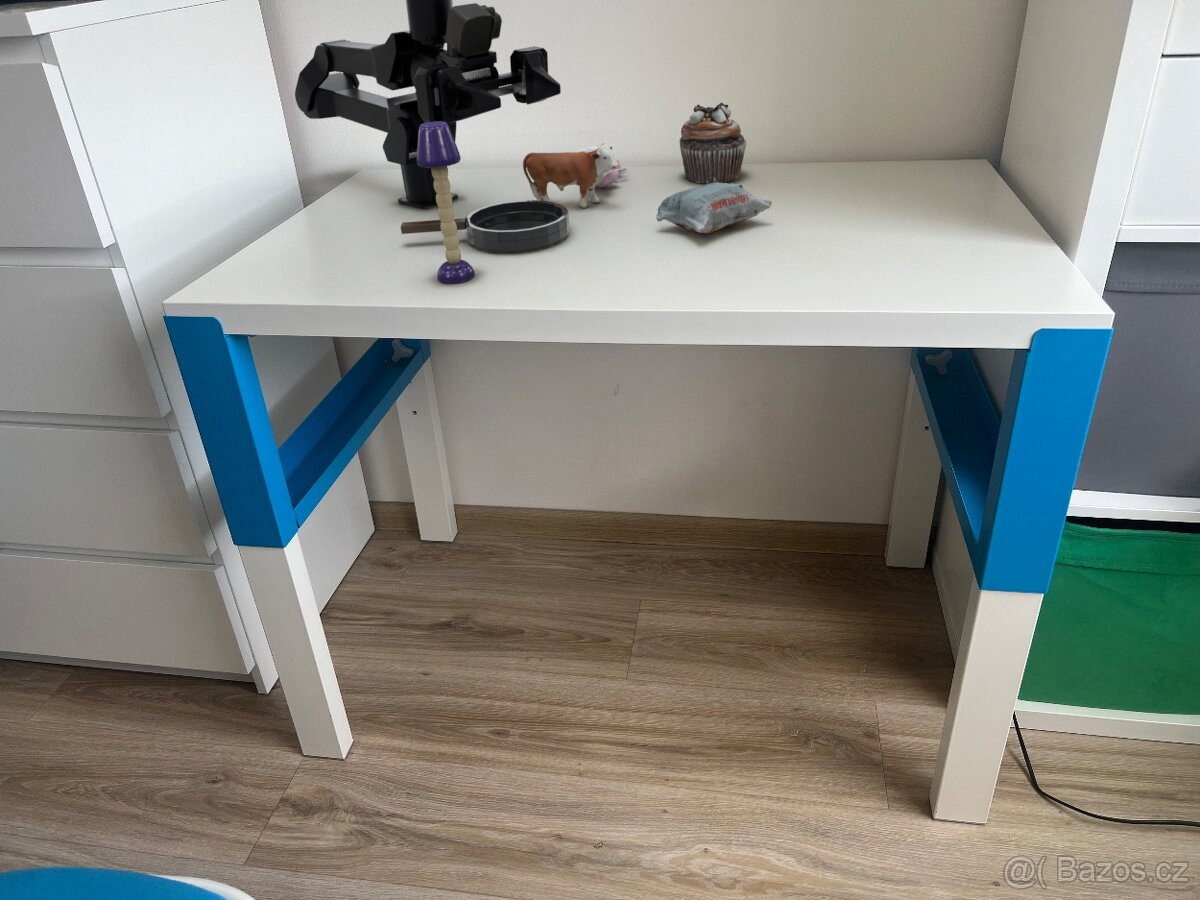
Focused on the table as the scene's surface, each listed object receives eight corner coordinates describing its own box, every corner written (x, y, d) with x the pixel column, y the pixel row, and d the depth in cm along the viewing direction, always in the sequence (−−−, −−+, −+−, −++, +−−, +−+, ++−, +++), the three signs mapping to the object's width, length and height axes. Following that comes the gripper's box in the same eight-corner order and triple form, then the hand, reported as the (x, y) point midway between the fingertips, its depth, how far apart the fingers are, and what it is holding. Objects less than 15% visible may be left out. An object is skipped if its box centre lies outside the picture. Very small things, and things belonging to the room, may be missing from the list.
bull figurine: (618, 211, 117) (615, 148, 113) (523, 209, 120) (517, 148, 116) (625, 201, 121) (623, 140, 116) (533, 200, 124) (527, 140, 119)
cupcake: (683, 187, 125) (682, 114, 119) (677, 170, 133) (676, 100, 128) (750, 183, 124) (752, 109, 119) (740, 166, 133) (741, 96, 127)
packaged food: (770, 223, 109) (772, 183, 106) (699, 246, 103) (698, 205, 101) (722, 210, 115) (723, 172, 112) (652, 231, 109) (651, 191, 107)
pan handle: (467, 225, 110) (465, 217, 109) (465, 229, 108) (464, 221, 108) (403, 230, 110) (402, 222, 109) (401, 234, 108) (400, 226, 108)
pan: (447, 242, 110) (443, 220, 109) (521, 215, 118) (518, 194, 116) (516, 261, 102) (513, 238, 101) (590, 232, 110) (589, 210, 109)
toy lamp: (428, 276, 100) (402, 124, 91) (464, 265, 102) (442, 116, 94) (449, 287, 97) (424, 130, 88) (485, 276, 99) (464, 122, 90)
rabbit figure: (591, 181, 135) (571, 193, 122) (590, 140, 133) (569, 148, 119) (631, 181, 134) (615, 192, 120) (630, 140, 132) (614, 147, 118)
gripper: (377, 14, 101) (459, 30, 92) (502, -4, 112) (587, 10, 103) (391, 114, 107) (469, 139, 98) (508, 88, 118) (588, 109, 109)
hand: (530, 95), depth 102 cm, fingers open, 9 cm apart
